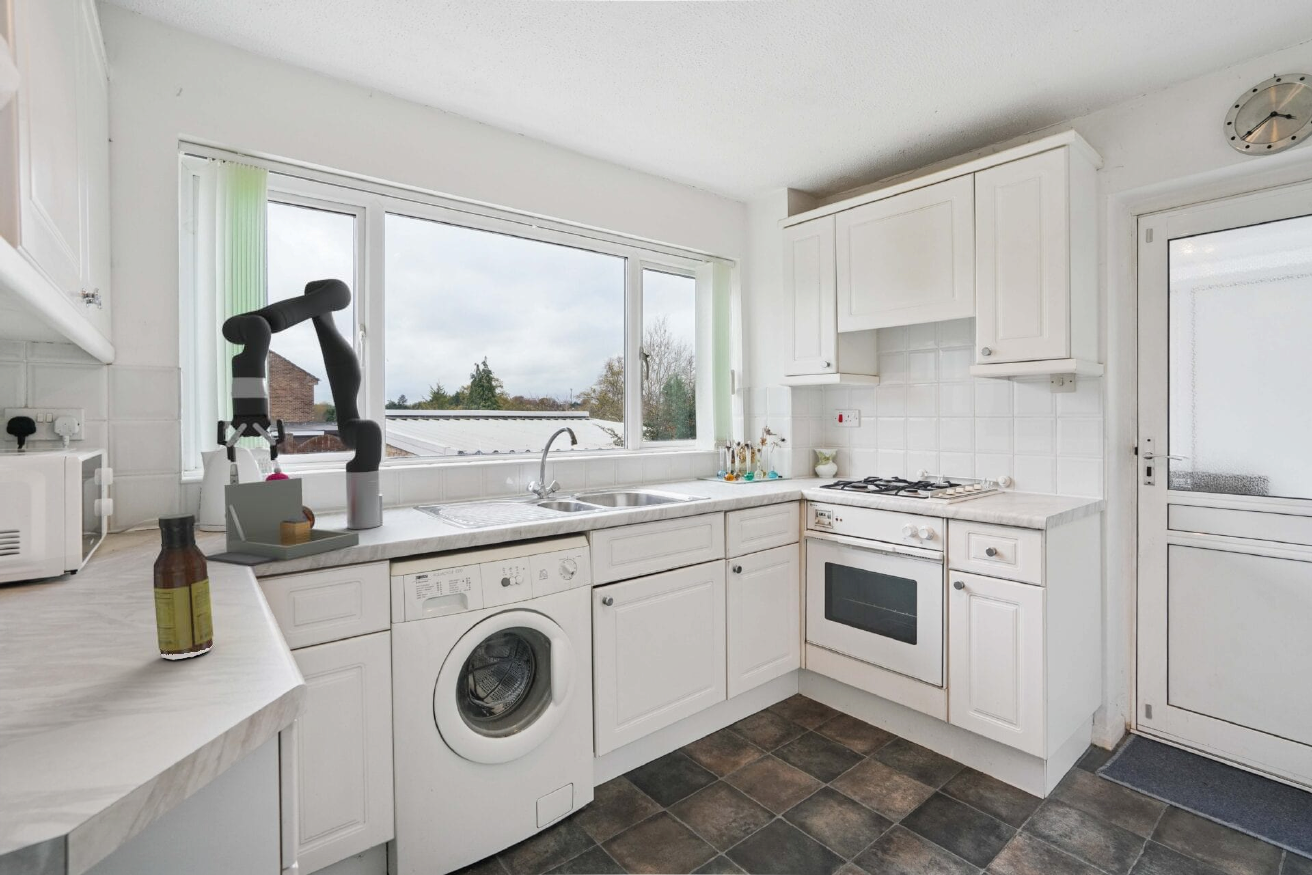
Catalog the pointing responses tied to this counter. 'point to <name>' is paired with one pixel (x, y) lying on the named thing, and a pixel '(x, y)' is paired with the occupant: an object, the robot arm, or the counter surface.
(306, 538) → the block
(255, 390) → the robot arm
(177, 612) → the sauce bottle
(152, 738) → the counter surface
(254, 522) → the case
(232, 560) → the mat
